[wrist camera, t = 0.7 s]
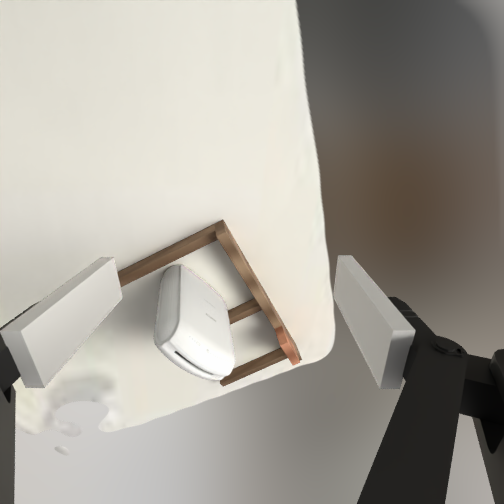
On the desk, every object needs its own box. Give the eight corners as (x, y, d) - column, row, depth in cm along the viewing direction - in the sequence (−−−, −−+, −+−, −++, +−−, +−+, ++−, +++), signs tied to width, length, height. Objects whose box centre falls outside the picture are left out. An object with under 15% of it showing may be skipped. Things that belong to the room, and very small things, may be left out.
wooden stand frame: (114, 274, 33) (100, 308, 28) (223, 219, 32) (229, 246, 27) (222, 378, 50) (226, 411, 45) (296, 345, 48) (308, 375, 43)
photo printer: (230, 300, 39) (244, 378, 29) (207, 315, 40) (213, 396, 30) (181, 257, 33) (177, 336, 23) (156, 275, 34) (142, 359, 24)
